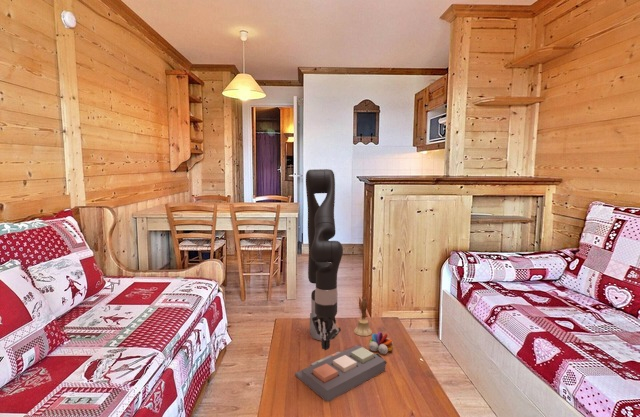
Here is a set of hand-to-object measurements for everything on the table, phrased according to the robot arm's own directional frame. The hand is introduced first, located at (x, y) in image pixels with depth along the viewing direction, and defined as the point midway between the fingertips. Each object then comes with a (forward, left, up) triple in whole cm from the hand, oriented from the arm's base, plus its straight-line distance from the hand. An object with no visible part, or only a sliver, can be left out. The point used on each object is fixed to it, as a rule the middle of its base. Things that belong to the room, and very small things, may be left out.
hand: (325, 348), depth 118 cm
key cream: (0, +9, -10) cm, 14 cm away
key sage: (0, +18, -10) cm, 21 cm away
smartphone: (-1, +21, -14) cm, 25 cm away
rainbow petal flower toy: (-4, +33, -14) cm, 36 cm away
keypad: (-2, +9, -13) cm, 16 cm away
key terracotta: (0, 0, -10) cm, 10 cm away
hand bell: (-19, +38, -14) cm, 45 cm away
